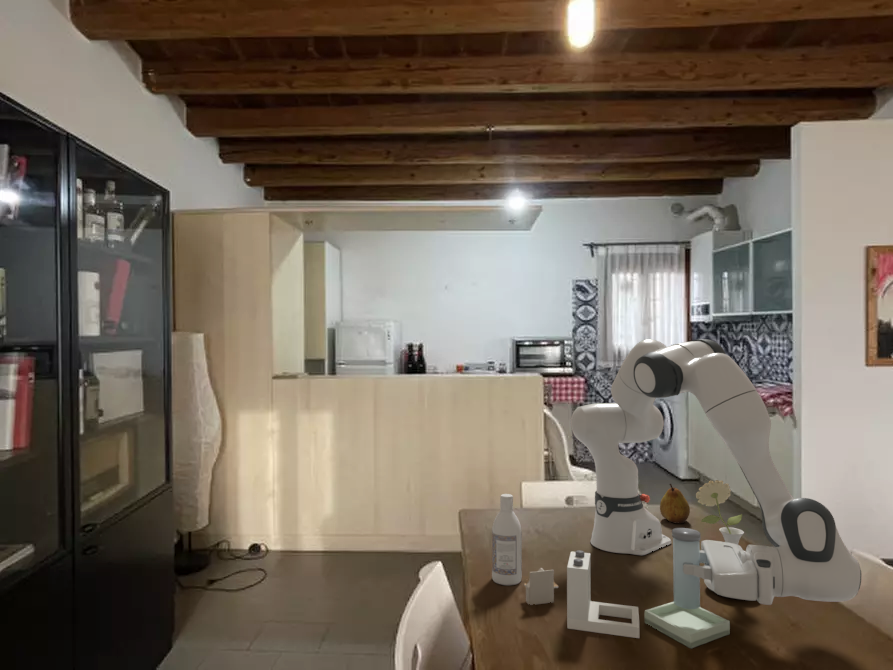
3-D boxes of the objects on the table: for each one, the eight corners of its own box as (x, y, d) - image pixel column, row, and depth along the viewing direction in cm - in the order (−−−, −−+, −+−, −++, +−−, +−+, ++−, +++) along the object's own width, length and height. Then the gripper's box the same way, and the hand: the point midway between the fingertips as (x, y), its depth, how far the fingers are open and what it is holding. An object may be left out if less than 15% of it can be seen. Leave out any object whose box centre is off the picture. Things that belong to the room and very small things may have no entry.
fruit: (681, 516, 188) (681, 478, 188) (695, 525, 179) (695, 485, 179) (655, 516, 187) (655, 479, 187) (667, 525, 178) (667, 486, 178)
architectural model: (523, 600, 129) (523, 566, 129) (552, 597, 131) (552, 563, 131) (529, 607, 126) (529, 572, 126) (559, 603, 127) (559, 569, 127)
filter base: (638, 616, 120) (638, 554, 120) (639, 638, 112) (639, 571, 112) (571, 608, 124) (570, 547, 124) (567, 628, 116) (567, 563, 116)
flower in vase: (755, 585, 135) (755, 476, 135) (764, 607, 125) (764, 489, 125) (694, 578, 140) (694, 472, 140) (698, 598, 129) (697, 484, 129)
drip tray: (682, 610, 123) (682, 598, 123) (729, 634, 113) (729, 621, 113) (644, 622, 118) (644, 610, 118) (690, 648, 108) (690, 634, 108)
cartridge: (684, 595, 119) (684, 526, 119) (707, 605, 114) (706, 533, 115) (666, 601, 116) (666, 530, 117) (688, 611, 112) (688, 538, 112)
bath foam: (503, 571, 144) (502, 489, 144) (527, 579, 139) (527, 494, 139) (486, 580, 138) (486, 495, 138) (510, 588, 134) (510, 501, 134)
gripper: (748, 535, 122) (676, 529, 126) (772, 573, 102) (686, 564, 106) (748, 566, 122) (677, 559, 126) (772, 609, 102) (686, 599, 106)
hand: (681, 562), depth 116 cm, fingers closed on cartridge, 5 cm apart
